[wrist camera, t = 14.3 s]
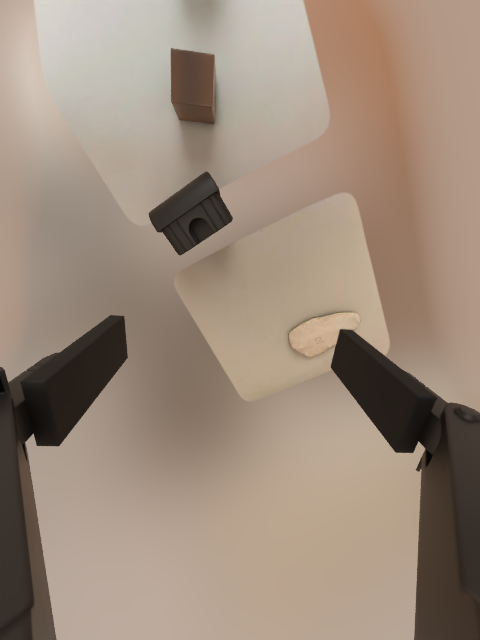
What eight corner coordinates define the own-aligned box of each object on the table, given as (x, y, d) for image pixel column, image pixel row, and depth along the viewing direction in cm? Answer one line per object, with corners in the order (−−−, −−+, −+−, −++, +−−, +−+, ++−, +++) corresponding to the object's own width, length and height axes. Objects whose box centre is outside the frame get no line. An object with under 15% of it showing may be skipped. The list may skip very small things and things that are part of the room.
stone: (283, 328, 46) (285, 332, 44) (353, 297, 45) (358, 300, 43) (297, 360, 49) (300, 366, 47) (363, 332, 47) (369, 337, 45)
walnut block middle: (216, 79, 33) (214, 54, 28) (214, 124, 35) (212, 107, 30) (178, 74, 32) (170, 47, 28) (178, 119, 34) (171, 101, 30)
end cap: (209, 176, 37) (205, 165, 30) (234, 219, 39) (235, 217, 33) (156, 214, 38) (142, 211, 32) (183, 253, 40) (175, 258, 34)
